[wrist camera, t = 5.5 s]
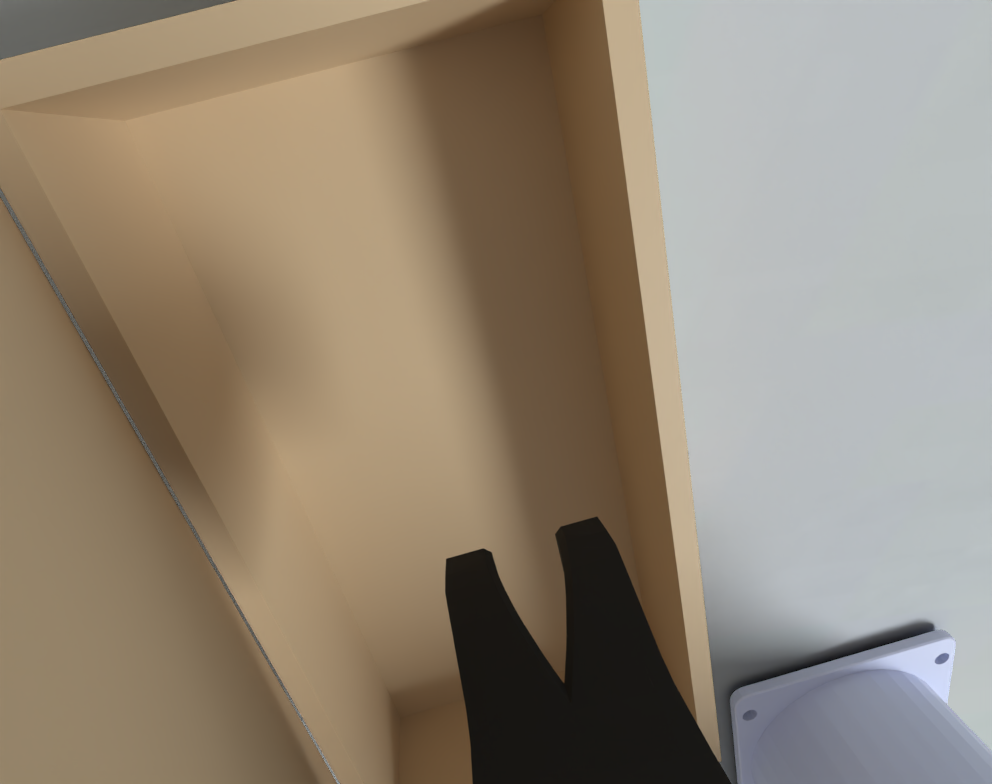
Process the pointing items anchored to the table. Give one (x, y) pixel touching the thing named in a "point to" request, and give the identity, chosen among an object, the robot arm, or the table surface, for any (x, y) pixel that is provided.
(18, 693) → the lid flap
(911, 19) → the table surface
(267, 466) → the carton
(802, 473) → the table surface
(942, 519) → the table surface
